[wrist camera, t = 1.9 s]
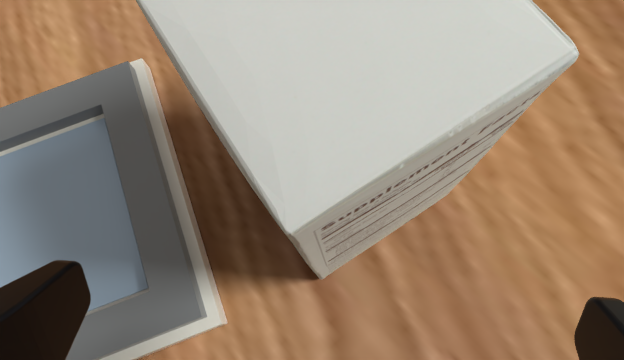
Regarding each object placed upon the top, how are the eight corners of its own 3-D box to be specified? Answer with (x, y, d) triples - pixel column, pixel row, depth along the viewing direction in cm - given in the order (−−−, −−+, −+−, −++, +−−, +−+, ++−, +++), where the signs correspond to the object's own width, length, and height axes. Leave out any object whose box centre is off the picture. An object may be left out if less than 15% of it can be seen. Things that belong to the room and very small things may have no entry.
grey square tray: (227, 323, 20) (216, 324, 18) (-75, 443, 19) (-116, 455, 18) (149, 68, 24) (134, 49, 22) (-102, 161, 24) (-138, 149, 22)
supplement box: (239, 157, 22) (114, -28, 10) (363, 83, 23) (383, -173, 11) (318, 286, 20) (279, 244, 8) (452, 199, 21) (598, 43, 9)
